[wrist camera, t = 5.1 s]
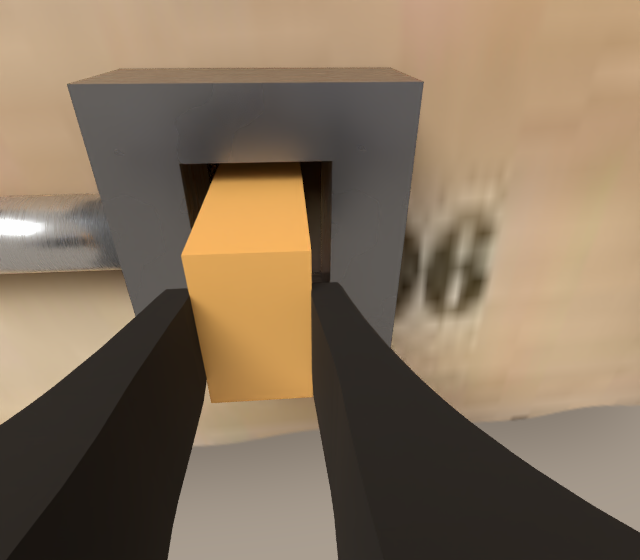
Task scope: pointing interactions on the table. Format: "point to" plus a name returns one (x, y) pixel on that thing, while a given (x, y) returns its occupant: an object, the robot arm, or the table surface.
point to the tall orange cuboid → (253, 283)
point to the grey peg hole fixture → (228, 147)
